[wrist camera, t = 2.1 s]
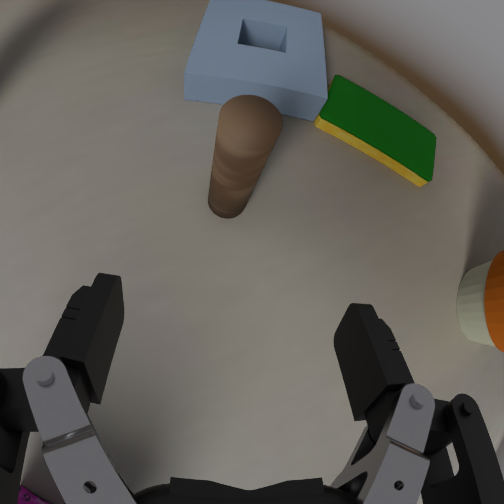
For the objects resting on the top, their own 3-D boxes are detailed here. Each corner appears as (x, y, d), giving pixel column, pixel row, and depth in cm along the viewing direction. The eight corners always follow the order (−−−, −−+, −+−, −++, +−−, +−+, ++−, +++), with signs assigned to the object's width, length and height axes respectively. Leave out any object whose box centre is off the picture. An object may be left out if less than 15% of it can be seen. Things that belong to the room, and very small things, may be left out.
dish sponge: (419, 189, 31) (432, 182, 28) (311, 127, 30) (319, 114, 27) (425, 144, 33) (437, 135, 30) (328, 85, 32) (336, 72, 29)
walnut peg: (205, 215, 26) (214, 139, 14) (210, 180, 26) (223, 90, 15) (244, 220, 26) (281, 150, 15) (247, 185, 27) (284, 100, 15)
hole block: (184, 99, 27) (184, 73, 24) (210, 16, 31) (213, -8, 27) (313, 121, 29) (327, 98, 26) (311, 34, 33) (320, 13, 29)
